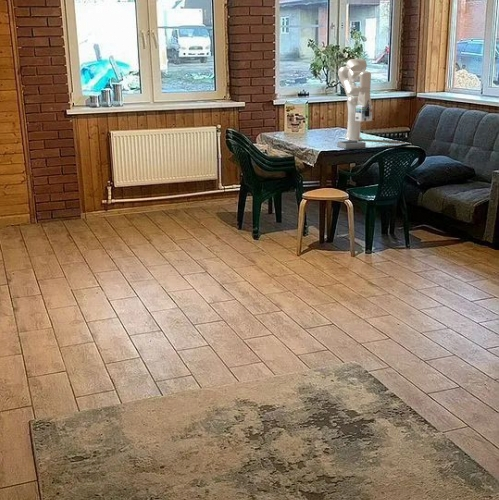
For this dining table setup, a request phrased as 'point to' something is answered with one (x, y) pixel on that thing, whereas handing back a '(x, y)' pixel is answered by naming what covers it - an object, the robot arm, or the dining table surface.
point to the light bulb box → (363, 114)
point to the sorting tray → (351, 144)
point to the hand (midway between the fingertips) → (363, 115)
